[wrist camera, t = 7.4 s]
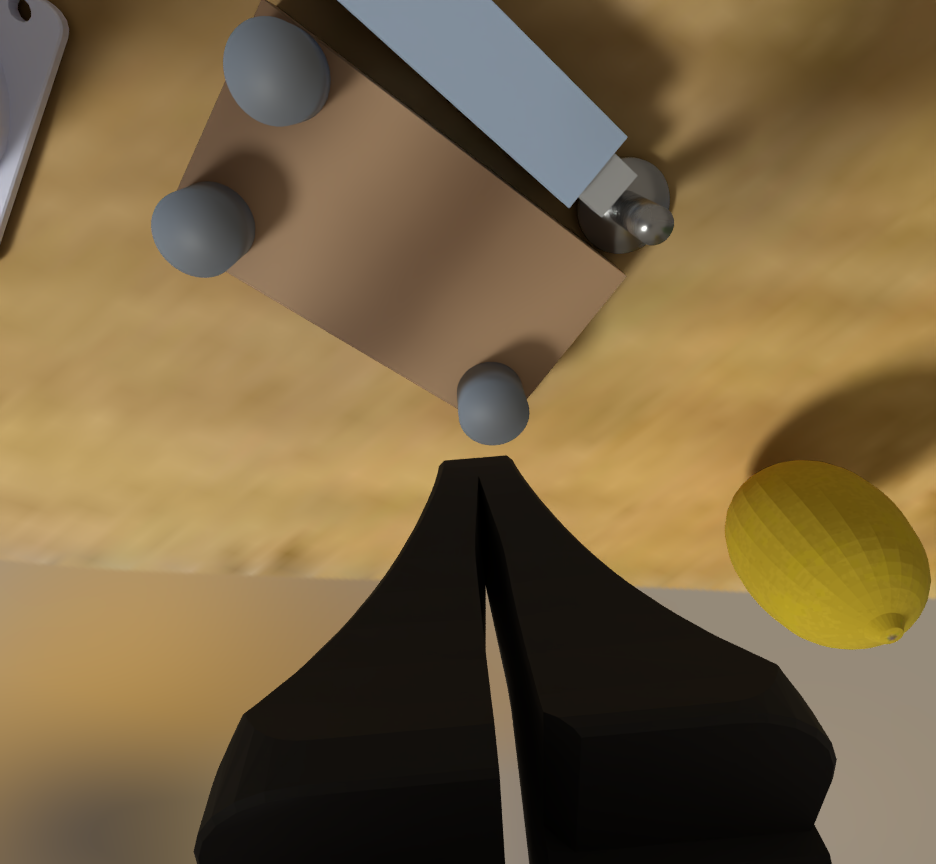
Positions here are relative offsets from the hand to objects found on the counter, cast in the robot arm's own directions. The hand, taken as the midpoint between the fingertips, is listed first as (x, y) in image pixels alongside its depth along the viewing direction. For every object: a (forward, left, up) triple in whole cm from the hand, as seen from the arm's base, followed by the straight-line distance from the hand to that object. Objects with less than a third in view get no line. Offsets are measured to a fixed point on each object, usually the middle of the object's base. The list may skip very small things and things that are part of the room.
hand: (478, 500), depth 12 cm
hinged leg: (-4, +6, -10) cm, 12 cm away
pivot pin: (+2, +6, -10) cm, 12 cm away
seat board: (-3, +1, -10) cm, 10 cm away
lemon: (+14, +1, -10) cm, 17 cm away
